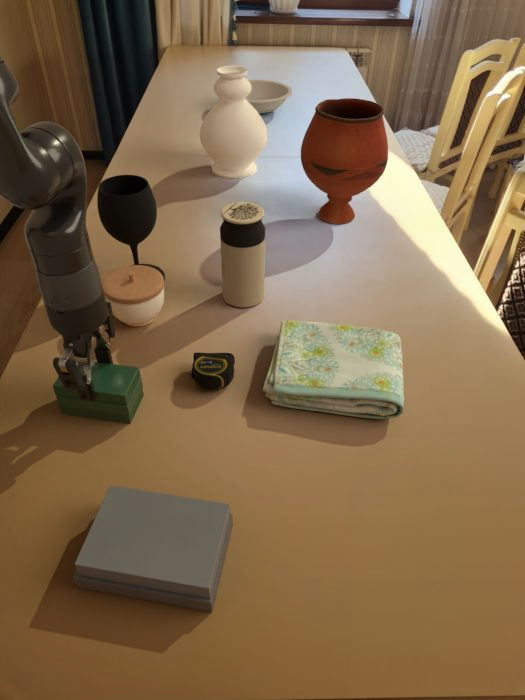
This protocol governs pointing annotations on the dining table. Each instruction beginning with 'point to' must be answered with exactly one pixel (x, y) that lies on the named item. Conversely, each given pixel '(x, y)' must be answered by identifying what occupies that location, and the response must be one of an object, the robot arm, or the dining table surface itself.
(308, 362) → the towel
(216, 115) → the decorative vase
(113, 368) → the green book
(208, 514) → the grey books
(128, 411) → the green books
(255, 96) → the soup bowl
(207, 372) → the tape measure
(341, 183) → the goblet
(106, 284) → the trinket box
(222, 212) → the travel mug
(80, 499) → the dining table surface
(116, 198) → the wine glass
